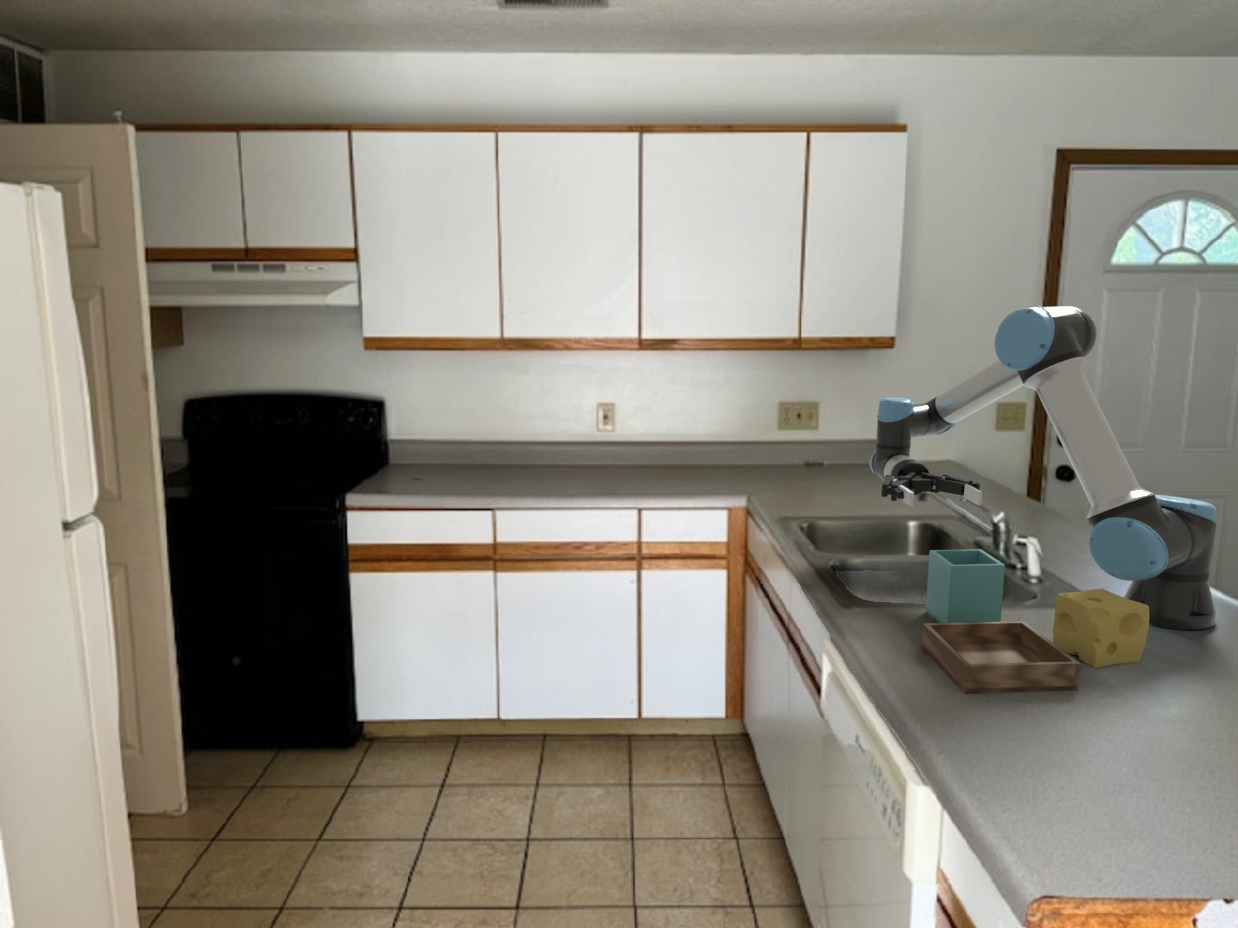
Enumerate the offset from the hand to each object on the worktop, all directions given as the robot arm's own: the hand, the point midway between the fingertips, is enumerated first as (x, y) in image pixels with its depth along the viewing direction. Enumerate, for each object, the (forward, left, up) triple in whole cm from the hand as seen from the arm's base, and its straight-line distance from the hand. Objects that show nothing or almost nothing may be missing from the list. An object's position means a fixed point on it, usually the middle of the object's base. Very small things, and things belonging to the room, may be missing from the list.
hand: (946, 499), depth 175 cm
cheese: (-29, +11, -22) cm, 38 cm away
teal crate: (-6, +8, -21) cm, 24 cm away
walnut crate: (-16, +27, -21) cm, 38 cm away
